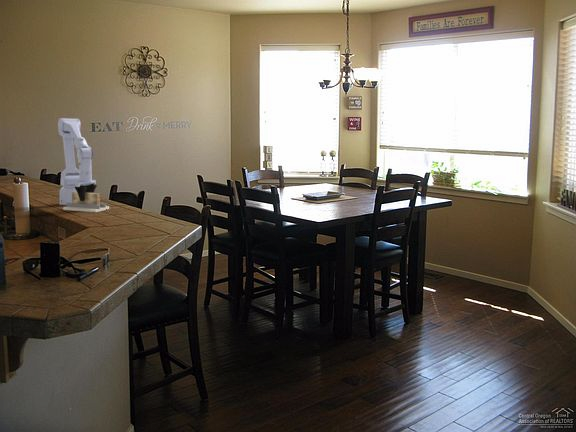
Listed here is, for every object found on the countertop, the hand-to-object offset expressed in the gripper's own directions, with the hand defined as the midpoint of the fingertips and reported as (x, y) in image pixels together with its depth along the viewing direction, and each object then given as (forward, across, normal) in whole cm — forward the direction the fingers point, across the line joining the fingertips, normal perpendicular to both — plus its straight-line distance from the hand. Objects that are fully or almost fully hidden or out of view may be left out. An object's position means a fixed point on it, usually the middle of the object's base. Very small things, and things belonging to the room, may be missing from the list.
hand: (86, 200), depth 293 cm
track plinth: (+5, 0, 0) cm, 5 cm away
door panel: (+3, 0, 0) cm, 3 cm away
